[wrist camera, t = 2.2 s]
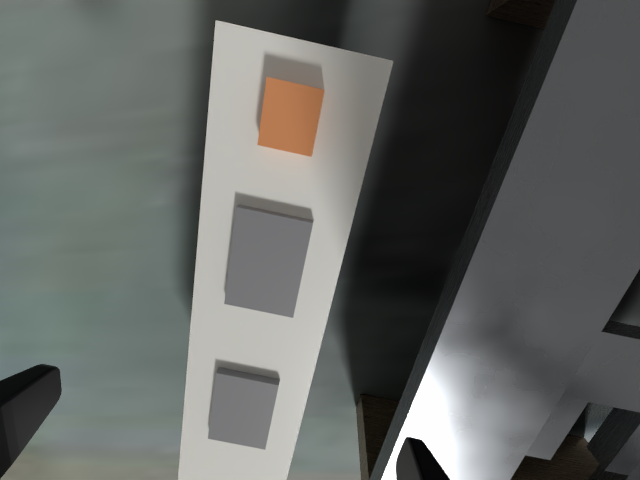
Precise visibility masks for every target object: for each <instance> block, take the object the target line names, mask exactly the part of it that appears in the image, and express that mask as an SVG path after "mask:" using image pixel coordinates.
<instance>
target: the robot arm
mask: <svg viewBox="0 0 640 480" xmlns="http://www.w3.org/2000/svg"><path fill="white" fill-rule="evenodd" d="M60 395H61V379H60V370H59V369H58V367H56V366H51V365H46V364H40V365H36V366H34V367H32V368H29V369H27V370H24V371H22V372H20V373H17V374H15V375H13V376H10V377H8V378H6V379H3V380H1V381H0V478H1V477H2V476H3V475H4V474H5V472H6V471H7V470H8V469H9V468H10V466H11V465H12V464H13V462H14V461H15V460H16V459H17V457H18V456H19V455H20V453H21V452H22V450H23V449H24V448H25V446H26V445H27V443H28V442H29V441H30V439H31V438H32V436H33V435H34V434H35V432H36V431H37V430H38V428H39V427H40V425H41V424H42V423H43V421H44V420H45V418H46V417H47V416H48V414H49V413H50V411H51V410H52V409H53V407H54V406H55V404H56V403H57V402H58V400H59V398H60ZM396 480H450V478H449V477H448V475H447V474H446V473H445V471H444V470H443V468H442V467H441V465H440V464H439V463H438V461H437V460H436V458H435V457H434V455H433V454H432V453H431V451H430V450H429V448H428V447H427V445H426V444H425V443H424V442H423V441H422V440H421V439H418V438H413V437H406V438H405V439H404V441H403V444H402V446H401V449H400V451H399V453H398V456H397V459H396Z"/></svg>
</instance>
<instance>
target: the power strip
mask: <svg viewBox="0 0 640 480" xmlns="http://www.w3.org/2000/svg"><path fill="white" fill-rule="evenodd" d="M392 65H393V61H391V60H387V59H383V58H378V57H374V56H370V55H365V54H361V53H357V52H352V51H348V50H344V49H339V48H335V47H331V46H326V45H322V44H318V43H313V42H309V41H304V40H300V39H296V38H291V37H287V36H283V35H278V34H274V33H270V32H265V31H261V30H257V29H252V28H248V27H244V26H239V25H235V24H231V23H226V22H222V21H218V20H216V21H215V33H214V46H213V58H212V70H211V82H210V95H209V107H208V119H207V131H206V144H205V156H204V168H203V180H202V193H201V205H200V217H199V229H198V242H197V254H196V266H195V278H194V291H193V303H192V315H191V327H190V340H189V352H188V364H187V376H186V389H185V401H184V413H183V425H182V437H181V450H180V462H179V474H178V480H286V479H287V475H288V472H289V468H290V464H291V460H292V456H293V452H294V448H295V444H296V440H297V436H298V432H299V429H300V425H301V421H302V417H303V413H304V409H305V405H306V401H307V397H308V393H309V389H310V385H311V382H312V378H313V374H314V370H315V366H316V362H317V358H318V354H319V350H320V346H321V342H322V339H323V335H324V331H325V327H326V323H327V319H328V315H329V311H330V307H331V303H332V299H333V296H334V292H335V288H336V284H337V280H338V276H339V272H340V268H341V264H342V260H343V256H344V253H345V249H346V245H347V241H348V237H349V233H350V229H351V225H352V221H353V217H354V213H355V209H356V206H357V202H358V198H359V194H360V190H361V186H362V182H363V178H364V174H365V170H366V166H367V163H368V159H369V155H370V151H371V147H372V143H373V139H374V135H375V131H376V127H377V123H378V120H379V116H380V112H381V108H382V104H383V100H384V96H385V92H386V88H387V84H388V80H389V77H390V73H391V69H392Z"/></svg>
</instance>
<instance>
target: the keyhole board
mask: <svg viewBox="0 0 640 480" xmlns="http://www.w3.org/2000/svg"><path fill="white" fill-rule="evenodd" d="M486 16H490V17H494V18H499V19H503V20H507V21H511V22H515V23H520V24H524V25H528V26H532V27H537V28H541V29H544V31H543V34H542V37H541V39H540V42H539V44H538V47H537V49H536V52H535V55H534V57H533V60H532V62H531V65H530V67H529V70H528V73H527V75H526V78H525V80H524V83H523V85H522V88H521V91H520V93H519V96H518V98H517V101H516V103H515V106H514V109H513V111H512V114H511V116H510V119H509V121H508V124H507V127H506V129H505V132H504V134H503V137H502V139H501V142H500V145H499V147H498V150H497V152H496V155H495V158H494V160H493V163H492V165H491V168H490V170H489V173H488V176H487V178H486V181H485V183H484V186H483V188H482V191H481V194H480V196H479V199H478V201H477V204H476V206H475V209H474V212H473V214H472V217H471V219H470V222H469V224H468V227H467V230H466V232H465V235H464V237H463V240H462V242H461V245H460V248H459V250H458V253H457V255H456V258H455V260H454V263H453V266H452V268H451V271H450V273H449V276H448V278H447V281H446V284H445V286H444V289H443V291H442V294H441V296H440V299H439V302H438V304H437V307H436V309H435V312H434V314H433V317H432V320H431V322H430V325H429V327H428V330H427V332H426V335H425V338H424V340H423V343H422V345H421V348H420V350H419V353H418V356H417V358H416V361H415V363H414V366H413V368H412V371H411V374H410V376H409V379H408V381H407V384H406V386H405V389H404V392H403V394H402V397H401V399H400V401H395V400H390V399H385V398H379V397H374V396H369V395H364V394H361V396H360V399H359V402H358V405H357V408H356V413H357V427H358V442H359V456H360V470H361V480H396V459H397V456H398V453H399V451H400V449H401V446H402V444H403V441H404V439H405V438H406V437H413V438H418V439H421V440H422V441H423V442H424V443H425V444H426V445H427V447H428V448H429V450H430V451H431V453H432V454H433V455H434V457H435V458H436V460H437V461H438V463H439V464H440V465H441V467H442V468H443V470H444V471H445V473H446V474H447V475H448V477H449V478H450V480H640V327H638V326H633V325H628V324H624V323H619V322H614V321H609V318H610V317H611V315H612V313H613V312H614V310H615V309H616V307H617V305H618V304H619V302H620V300H621V299H622V297H623V296H624V294H625V292H626V291H627V289H628V287H629V286H630V284H631V283H632V281H633V279H634V278H635V276H636V274H637V273H638V271H639V270H640V0H491V2H490V5H489V8H488V11H487V14H486ZM588 402H590V403H595V404H600V405H605V406H610V407H613V409H612V410H611V412H610V413H609V415H608V416H607V417H606V419H605V420H604V422H603V423H602V425H601V426H600V427H599V429H598V430H597V432H596V433H595V435H594V436H593V437H592V439H591V440H590V442H589V443H588V442H587V441H586V439H585V438H581V437H576V436H571V435H567V434H568V432H569V431H570V429H571V428H572V426H573V425H574V423H575V422H576V420H577V419H578V417H579V416H580V414H581V413H582V411H583V410H584V408H585V407H586V405H587V404H588Z"/></svg>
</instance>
